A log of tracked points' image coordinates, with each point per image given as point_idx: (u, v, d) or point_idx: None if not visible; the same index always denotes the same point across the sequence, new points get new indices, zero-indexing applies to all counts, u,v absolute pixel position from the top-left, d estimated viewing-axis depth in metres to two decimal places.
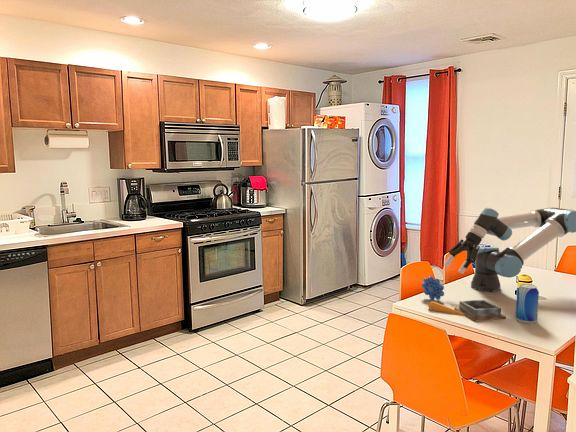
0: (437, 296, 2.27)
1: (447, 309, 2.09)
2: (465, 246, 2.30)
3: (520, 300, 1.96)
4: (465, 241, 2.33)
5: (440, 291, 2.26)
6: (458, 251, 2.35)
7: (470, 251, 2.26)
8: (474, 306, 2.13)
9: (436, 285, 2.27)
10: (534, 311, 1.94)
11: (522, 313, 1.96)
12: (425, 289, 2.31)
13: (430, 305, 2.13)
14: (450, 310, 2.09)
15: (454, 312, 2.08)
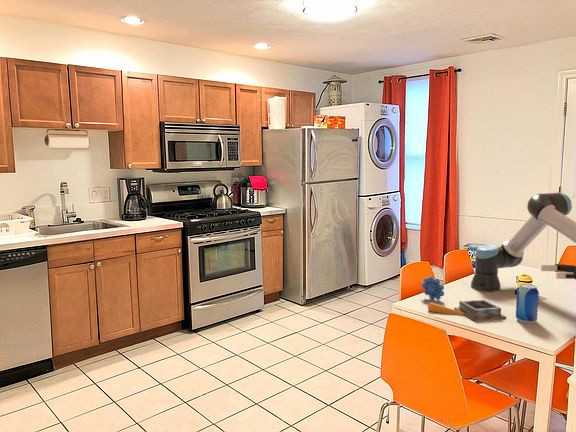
0: (437, 296, 2.27)
1: (448, 310, 2.08)
2: None
3: (520, 300, 1.96)
4: None
5: (440, 291, 2.26)
6: None
7: None
8: (474, 306, 2.13)
9: (436, 285, 2.27)
10: (534, 311, 1.94)
11: (522, 313, 1.96)
12: (425, 289, 2.31)
13: (430, 307, 2.11)
14: (451, 311, 2.08)
15: (455, 312, 2.07)
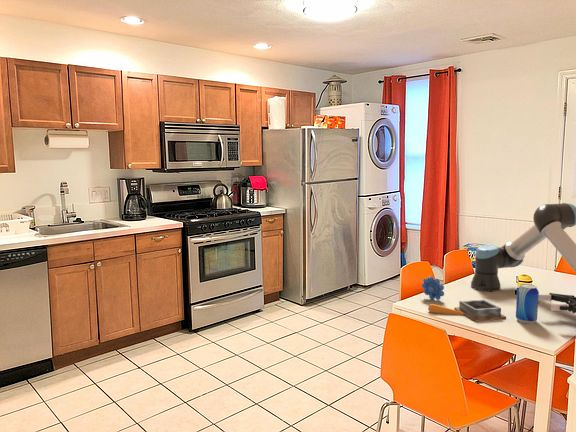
0: (437, 296, 2.27)
1: (448, 310, 2.08)
2: None
3: (520, 300, 1.96)
4: None
5: (440, 291, 2.26)
6: None
7: None
8: (474, 306, 2.13)
9: (436, 285, 2.27)
10: (534, 311, 1.94)
11: (522, 313, 1.96)
12: (425, 289, 2.31)
13: (431, 308, 2.09)
14: (452, 311, 2.07)
15: (456, 313, 2.07)
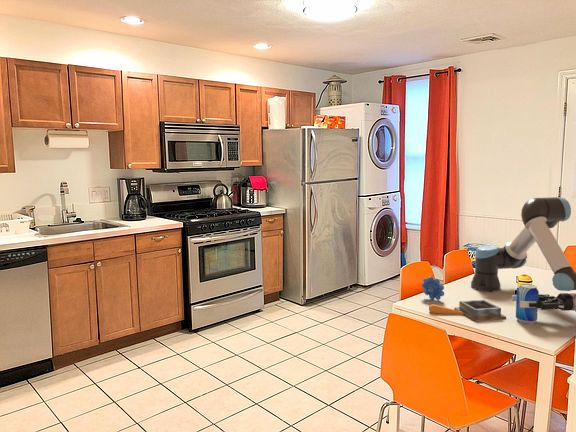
0: (437, 296, 2.27)
1: (449, 310, 2.07)
2: None
3: (520, 300, 1.96)
4: None
5: (440, 291, 2.26)
6: None
7: None
8: (474, 306, 2.13)
9: (436, 285, 2.27)
10: (534, 311, 1.94)
11: (522, 313, 1.96)
12: (425, 289, 2.31)
13: (432, 308, 2.08)
14: (452, 311, 2.07)
15: (457, 312, 2.07)
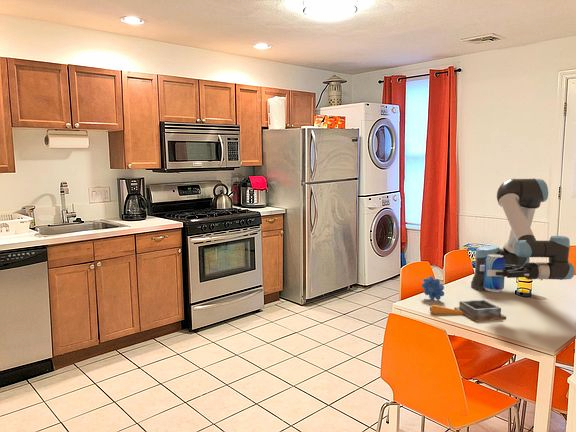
0: (437, 296, 2.27)
1: (450, 311, 2.07)
2: None
3: (487, 269, 2.00)
4: None
5: (440, 291, 2.26)
6: None
7: None
8: (474, 306, 2.13)
9: (436, 285, 2.27)
10: (500, 279, 1.98)
11: (489, 282, 2.00)
12: (425, 289, 2.31)
13: (433, 309, 2.07)
14: (453, 311, 2.07)
15: (457, 312, 2.07)
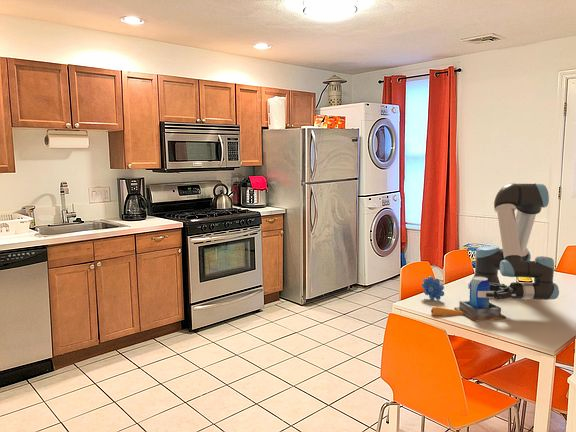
0: (437, 296, 2.27)
1: (452, 311, 2.06)
2: None
3: (472, 292, 2.05)
4: None
5: (440, 291, 2.26)
6: None
7: None
8: None
9: (436, 285, 2.27)
10: (485, 302, 2.03)
11: (474, 304, 2.05)
12: (425, 289, 2.31)
13: (436, 311, 2.05)
14: (454, 312, 2.06)
15: (458, 313, 2.07)
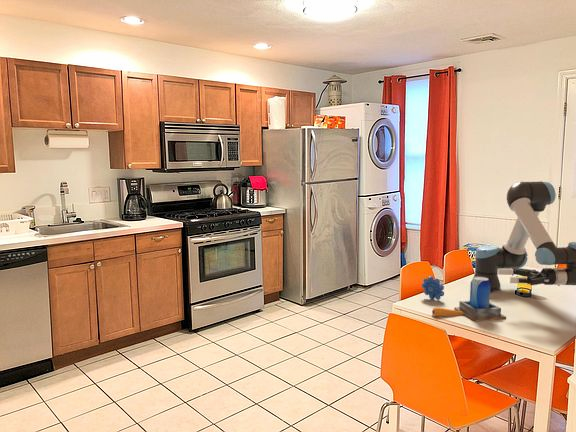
0: (437, 296, 2.27)
1: (452, 312, 2.06)
2: None
3: (473, 292, 2.05)
4: None
5: (440, 291, 2.26)
6: None
7: None
8: None
9: (436, 285, 2.27)
10: (485, 302, 2.03)
11: (474, 304, 2.05)
12: (425, 289, 2.31)
13: (437, 312, 2.04)
14: (455, 312, 2.06)
15: (459, 313, 2.06)
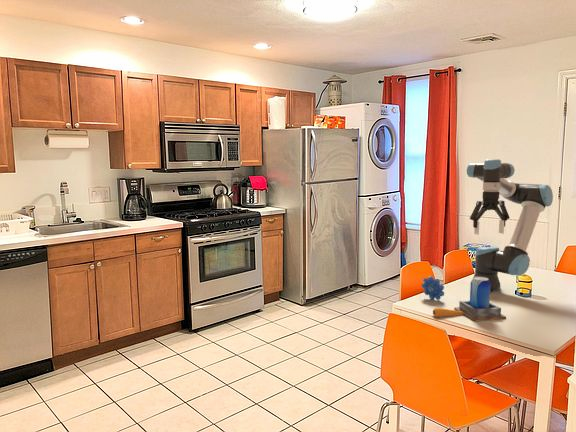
0: (437, 296, 2.27)
1: (453, 312, 2.05)
2: (491, 207, 2.19)
3: (473, 292, 2.05)
4: (486, 202, 2.18)
5: (440, 291, 2.26)
6: None
7: None
8: None
9: (436, 285, 2.27)
10: (485, 302, 2.03)
11: (474, 304, 2.05)
12: (425, 289, 2.31)
13: (438, 312, 2.03)
14: (455, 312, 2.06)
15: (459, 313, 2.06)
